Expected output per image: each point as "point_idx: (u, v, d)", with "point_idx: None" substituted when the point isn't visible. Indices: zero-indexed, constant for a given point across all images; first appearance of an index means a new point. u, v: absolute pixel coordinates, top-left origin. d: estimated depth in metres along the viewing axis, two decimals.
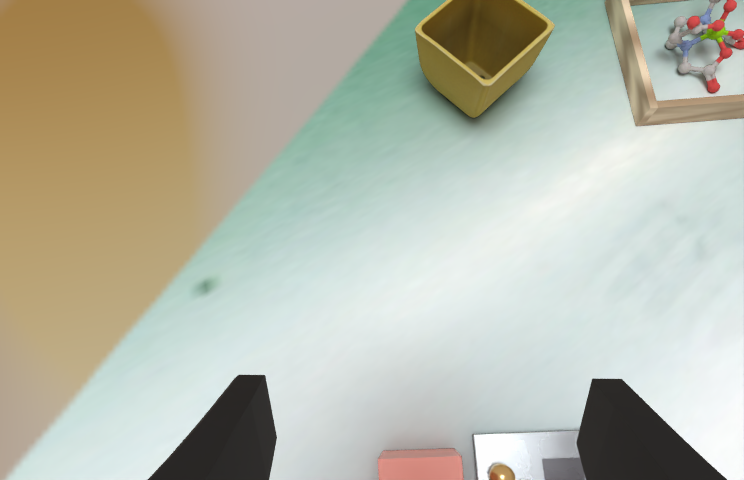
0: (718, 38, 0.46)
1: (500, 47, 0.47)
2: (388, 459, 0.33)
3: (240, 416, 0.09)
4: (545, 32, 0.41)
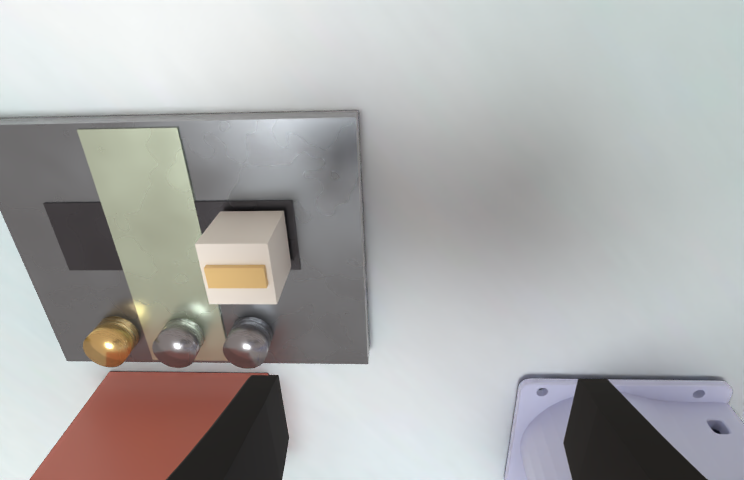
0: None
1: None
2: None
3: (256, 416, 0.09)
4: None
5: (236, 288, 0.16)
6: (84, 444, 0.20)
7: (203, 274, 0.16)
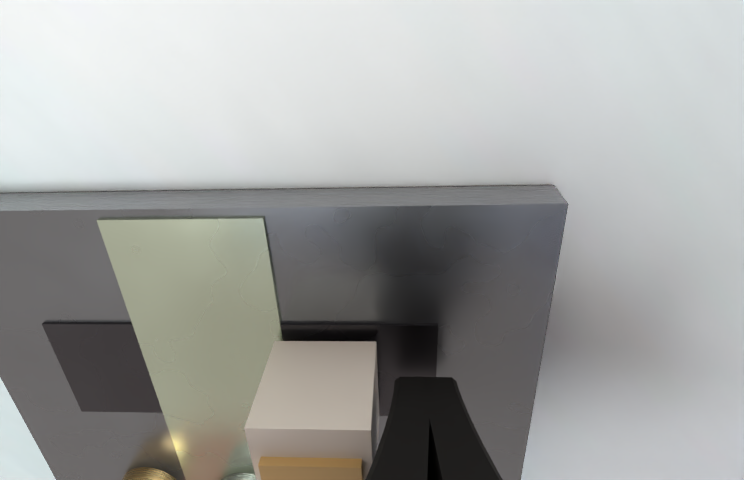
0: None
1: None
2: None
3: (428, 420, 0.09)
4: None
5: None
6: None
7: (255, 468, 0.10)
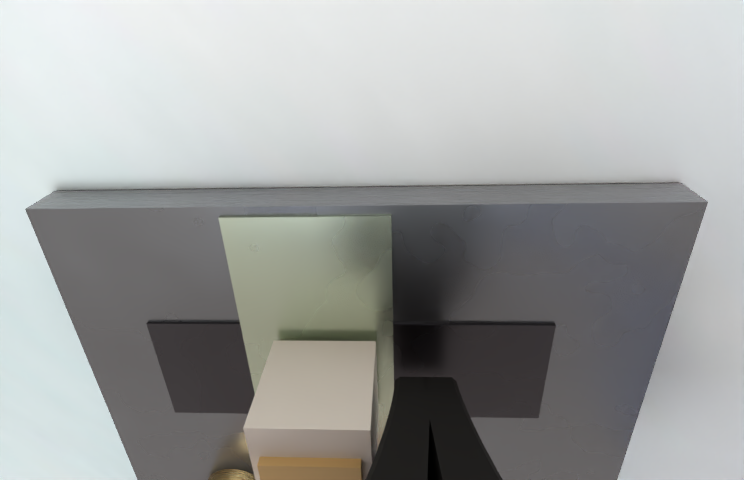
0: None
1: None
2: None
3: (428, 420, 0.09)
4: None
5: None
6: None
7: (254, 468, 0.10)
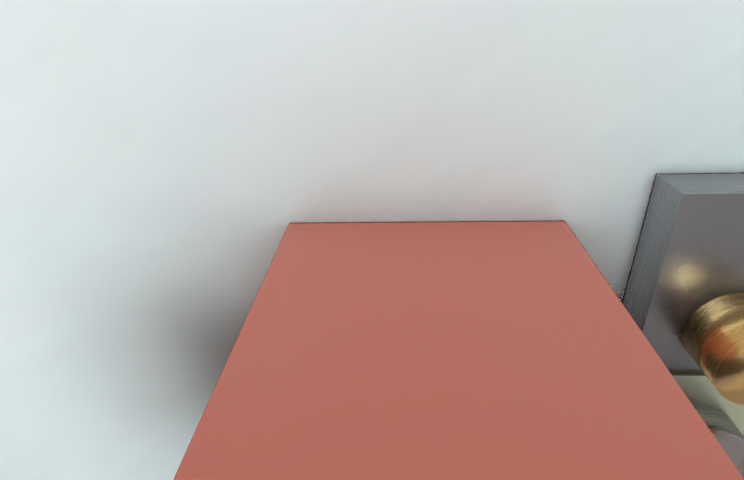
0: None
1: None
2: None
3: None
4: None
5: None
6: None
7: None
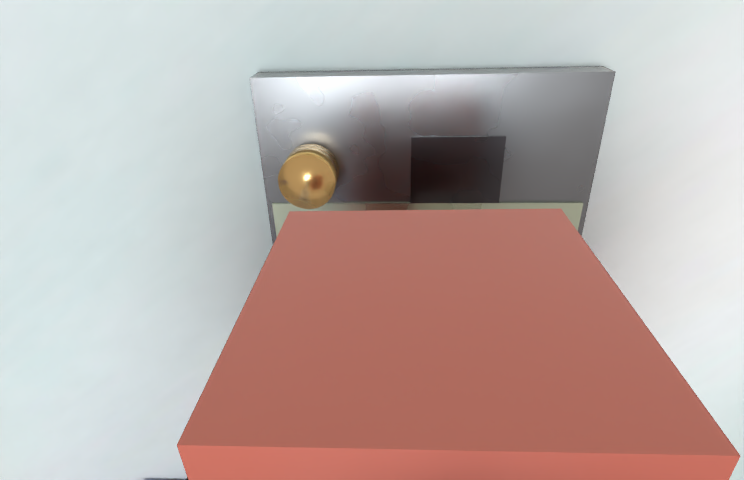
0: None
1: None
2: (245, 446, 0.05)
3: None
4: None
5: None
6: None
7: None
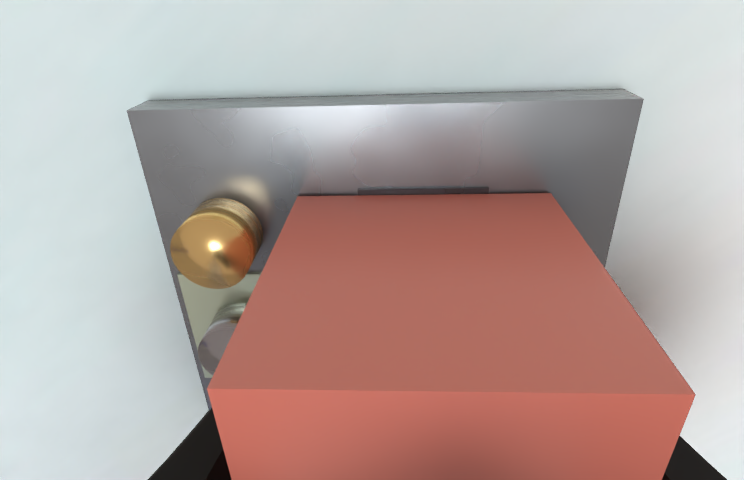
0: None
1: None
2: (266, 390, 0.06)
3: None
4: None
5: None
6: None
7: None
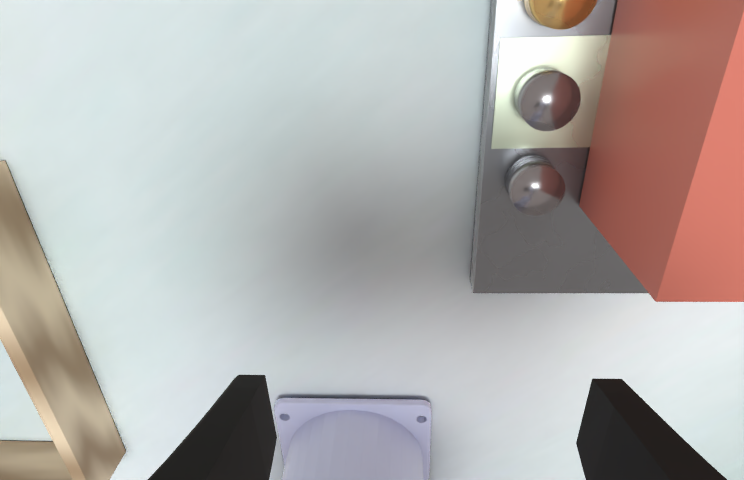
0: None
1: None
2: None
3: (240, 416, 0.09)
4: None
5: None
6: None
7: None
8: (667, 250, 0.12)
